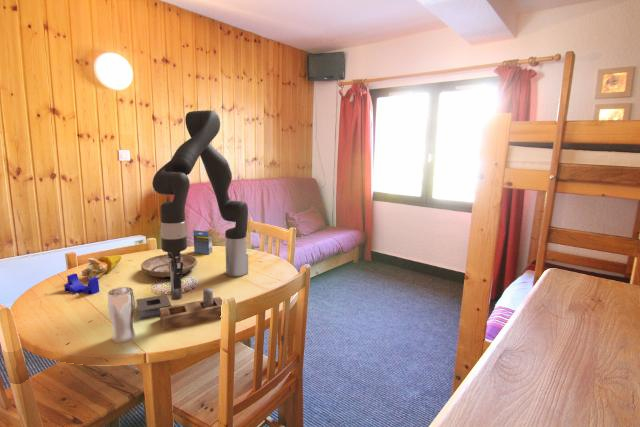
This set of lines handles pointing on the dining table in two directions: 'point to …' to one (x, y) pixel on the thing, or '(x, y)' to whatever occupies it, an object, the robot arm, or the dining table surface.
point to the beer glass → (122, 313)
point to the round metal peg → (175, 293)
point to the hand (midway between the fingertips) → (176, 286)
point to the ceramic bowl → (166, 265)
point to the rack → (191, 311)
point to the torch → (100, 266)
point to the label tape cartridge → (202, 242)
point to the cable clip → (81, 285)
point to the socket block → (151, 306)
